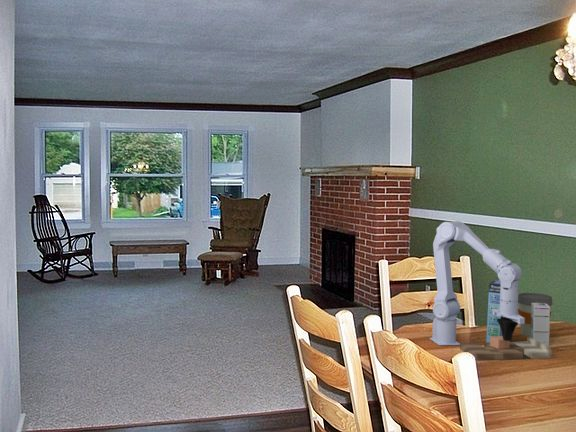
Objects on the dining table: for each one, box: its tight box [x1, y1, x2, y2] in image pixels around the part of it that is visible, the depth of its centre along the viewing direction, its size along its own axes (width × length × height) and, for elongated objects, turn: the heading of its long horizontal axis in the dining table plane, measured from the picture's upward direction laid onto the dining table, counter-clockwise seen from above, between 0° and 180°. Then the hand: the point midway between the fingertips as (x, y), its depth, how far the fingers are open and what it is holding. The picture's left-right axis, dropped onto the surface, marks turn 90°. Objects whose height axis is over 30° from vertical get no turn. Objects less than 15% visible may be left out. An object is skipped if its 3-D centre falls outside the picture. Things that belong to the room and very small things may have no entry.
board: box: [459, 336, 552, 361], centre depth 216 cm, size 14×26×4 cm, turn 98°
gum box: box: [485, 277, 502, 343], centre depth 232 cm, size 20×5×23 cm, turn 149°
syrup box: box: [530, 303, 551, 347], centre depth 230 cm, size 6×6×14 cm
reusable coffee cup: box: [517, 292, 553, 337], centre depth 243 cm, size 13×13×15 cm
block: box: [490, 336, 511, 349], centre depth 218 cm, size 4×4×3 cm
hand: (507, 340), depth 214 cm, fingers closed
